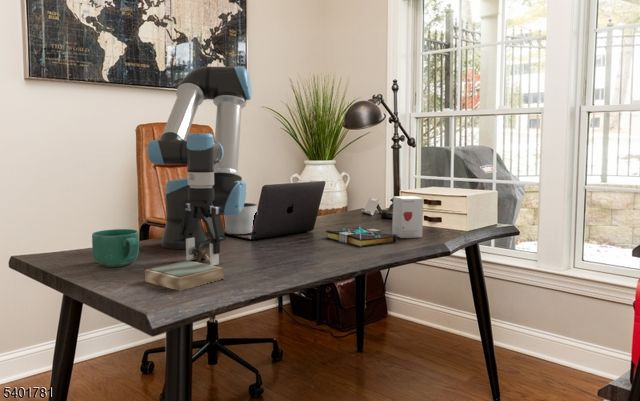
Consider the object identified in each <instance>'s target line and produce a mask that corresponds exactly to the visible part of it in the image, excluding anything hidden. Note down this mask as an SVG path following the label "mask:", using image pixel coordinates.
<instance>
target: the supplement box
mask: <svg viewBox="0 0 640 401" xmlns="http://www.w3.org/2000/svg"><path fill="white" fill-rule="evenodd" d="M392 198H393V199H392V223H391V224H392V228H391V234H397V238H400V239H413V238H415V239H416V238H423V222H424V221H423V220H424V217H423V216H424V198H422V197H419V196H416V195H415V196H414V195H411V196H409V195H408V196H407V195H405V196H403V195H401V196H393V197H392Z"/></svg>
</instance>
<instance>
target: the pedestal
mask: <svg viewBox="0 0 640 401" xmlns="http://www.w3.org/2000/svg"><path fill="white" fill-rule="evenodd" d="M224 272H225V269H224V267H221V266H216V265H213V266H212V265H210V264H207V263H202V262H199V263H198V262H197V261H193V260H189V261H187V260H185V261H180V262H175V263H171V264H167V265H162V266H157V267H156V266H155V267H153V268H146V269H144V282H146V283H148V284H149V283H150V284H153V285H156V286H160V287H163V288H168V289H171V290H174V289H175V290H174V291H179V292H182V291H185V289H186V290H188V289H189V290H190V289H192V288H197V287H199V286H200V285H201V286H204V285H208V284H210V282H212V283H215V282H214V281H216V282H219V281H222V280H221V279H223V280H224V279H225V278H224V277H225V275H224V274H225V273H224ZM218 280H219V281H218ZM207 283H208V284H207ZM203 284H204V285H203ZM196 286H197V287H196ZM181 290H182V291H181Z"/></svg>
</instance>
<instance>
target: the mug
mask: <svg viewBox="0 0 640 401" xmlns="http://www.w3.org/2000/svg"><path fill="white" fill-rule="evenodd" d="M139 238H140V237H139V231H138V230H136V229H130V228H118V229H117V228H116V229H104V230H103V229H102V230H98V231H94V232H92V236H91V244H92V246H91V247H92V248H91V249H92V255H93V256H92V257H93V259H94V260H95V261H96V262H97V264H100V265H103V267H105V268H108V267H109V268H119V267H125V266H128V265H130V264H131V263H133V262H134V261H135V260H136V259H137V258H138V257H139V252H140V242H139V241H140V240H139Z"/></svg>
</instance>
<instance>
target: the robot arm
mask: <svg viewBox="0 0 640 401" xmlns="http://www.w3.org/2000/svg"><path fill="white" fill-rule="evenodd" d="M251 85H252V84H251V79H250V75H249V72H248V70H247V68H246V67H244V66H235V65H233V66H210V65H209V66H207V65H206V66H200V67H198V68H196V69H193V70H191V71H190V72H189V73H188V74H186V75H185V77H184V78H183V79H182V80H181V81H180V82H179V84H178V85H177V88H176V100H175V101H174V103H173V107H172V109H171V111H170V114H169V116H168V118H167V121H166V124H165V126H164V129H163V131H162V134H161V136H160V138H159V139H158V138H156V139H152V140H150V141H149V142H148V144H147V156H148V157H147V158H148V160H149V162H150V163H151V164H152V165H170V166H171V165H174V166H175V165H187V177H182V178H178V179H170V180H168V181H166V183H165V194H164V195H165V218H166V219H165V223H166V224H165V227H164V230H163V235H162V237H161V247H162V248H165V249H173V250H174V249H175V250H185V258H186V259H185V261H193V260H196V258H194V257H193V255H194V254H193V255H189V254H188V249H189V248H191V247H193V246H194V247H195V248H196V249H197V248H199V245H200V243H201V242H203V241H206V240H208V238H207V235H206V233H205V228H204V226H203V224H202V223H204V225H205V227H206V230H207V233H208V235H209V239H211V242H210V251H209V257H210V262H209V265H212V266H216V265H219V264H220V261H219V260H220V259H219V258H220V257H219V255H220V253H221V252H220V248H221V247H220V246H221V244H220V243H221V242H224V241H226V235H225V229H224V226H223V221H222V217H221V216H228V215H238V214H239V213H240V212H241V211H242V209H243V207H244V203H246V196H247V183H246V182H245V181H243V180H242V179H243V177H242V175H241V174H239V172H238V170H239V158H240V156H239V154H240V140H241V138H240V137H241V124H242V110H243V109H244V108H245V107H246V106H247V101H249V100H251V99H252V86H251ZM205 100H211V101H212V100H213V101H212V103H213V104H214V105H215V107H216V117H215V129H214V130H215V132H214V135H213V134H212V133H206V132H204V133H203V132H202V133H201V132H197V133H196V132H190V130H191V126H192V125H193V121H194V118H195V116H196V113H197V110H198V107H199V106H200V105H202V104H203V102H204V101H205Z"/></svg>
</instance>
